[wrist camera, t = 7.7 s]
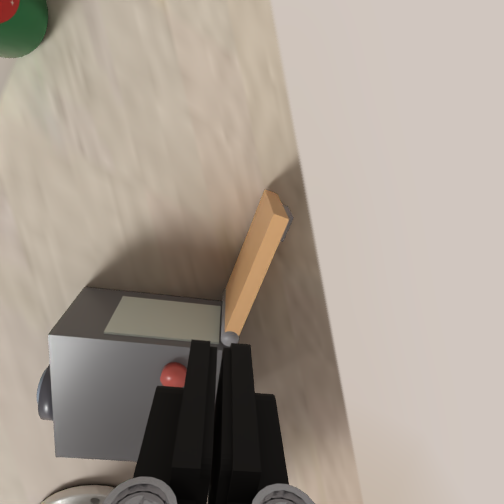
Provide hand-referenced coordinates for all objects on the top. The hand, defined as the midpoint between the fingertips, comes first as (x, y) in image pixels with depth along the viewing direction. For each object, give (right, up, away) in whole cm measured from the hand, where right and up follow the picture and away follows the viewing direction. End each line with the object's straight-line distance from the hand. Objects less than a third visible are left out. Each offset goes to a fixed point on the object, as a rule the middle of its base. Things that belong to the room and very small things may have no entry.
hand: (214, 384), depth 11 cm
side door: (+1, +4, +16) cm, 17 cm away
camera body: (-7, -4, +19) cm, 21 cm away
